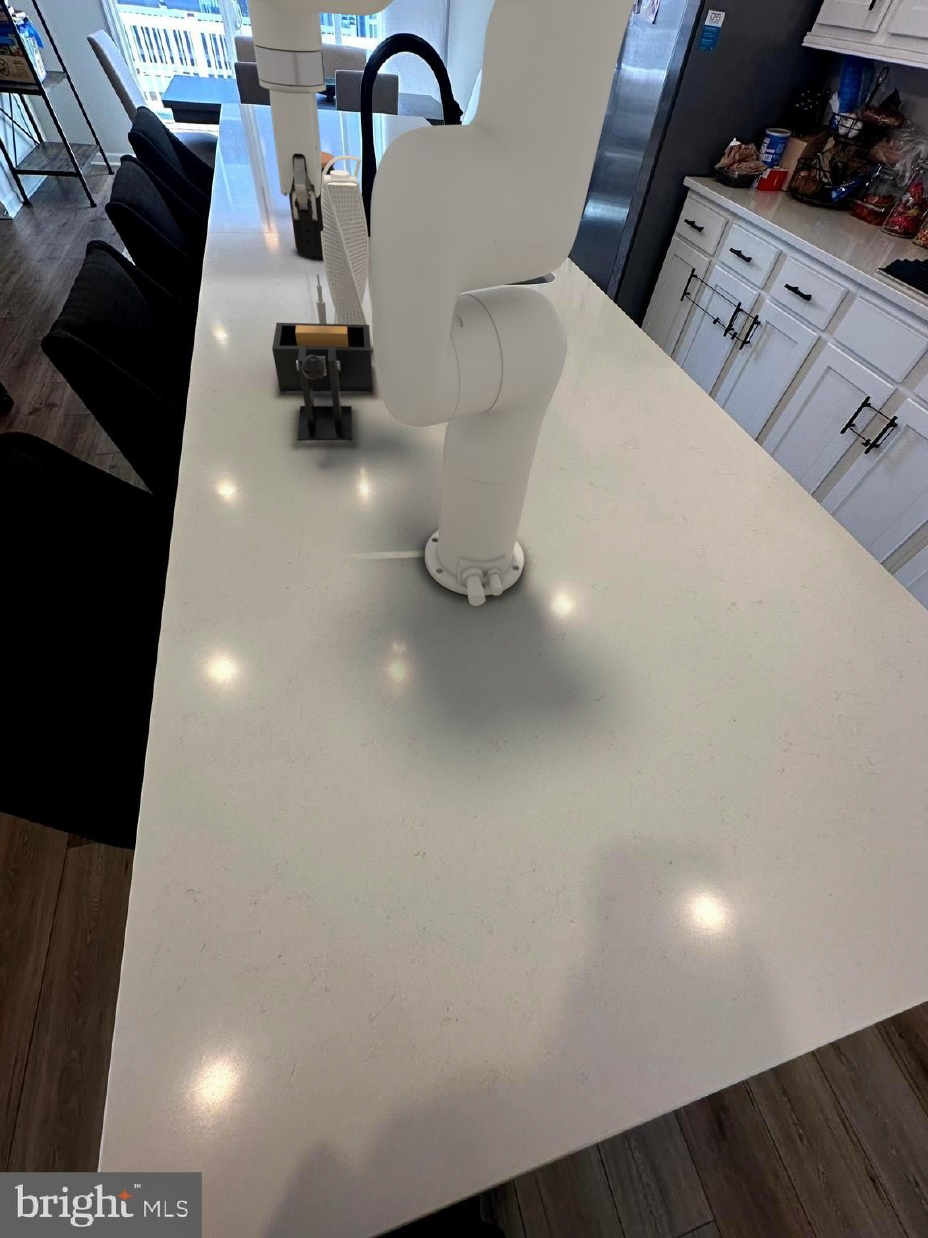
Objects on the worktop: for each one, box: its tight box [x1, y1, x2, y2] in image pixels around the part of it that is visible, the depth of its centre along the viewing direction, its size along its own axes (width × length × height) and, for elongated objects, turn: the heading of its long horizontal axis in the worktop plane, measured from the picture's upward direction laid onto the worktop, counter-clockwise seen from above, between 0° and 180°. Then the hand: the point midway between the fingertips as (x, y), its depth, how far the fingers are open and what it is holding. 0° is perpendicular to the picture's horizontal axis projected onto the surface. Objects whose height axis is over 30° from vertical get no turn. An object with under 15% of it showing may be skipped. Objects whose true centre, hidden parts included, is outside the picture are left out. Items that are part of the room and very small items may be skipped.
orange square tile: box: [295, 325, 349, 347], centre depth 92 cm, size 2×8×8 cm, turn 98°
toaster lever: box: [302, 355, 328, 380], centre depth 76 cm, size 11×3×3 cm, turn 8°
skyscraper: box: [315, 154, 374, 351], centre depth 93 cm, size 8×8×28 cm
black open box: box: [271, 322, 374, 393], centre depth 93 cm, size 9×15×8 cm, turn 98°
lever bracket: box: [296, 346, 353, 441], centre depth 82 cm, size 9×8×12 cm
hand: (311, 241), depth 77 cm, fingers open, 9 cm apart
